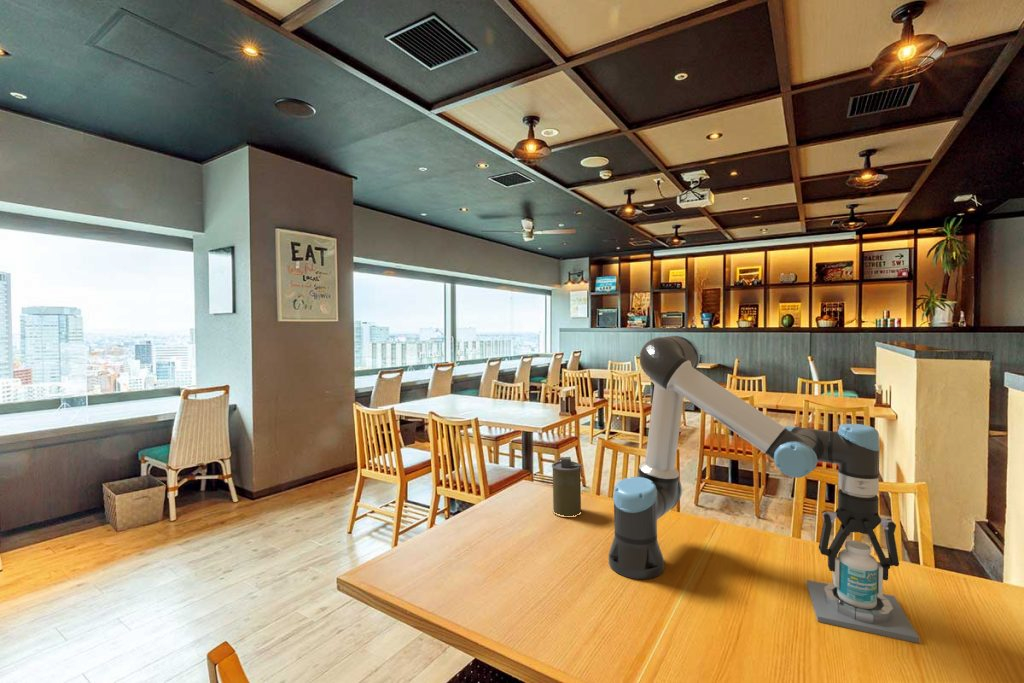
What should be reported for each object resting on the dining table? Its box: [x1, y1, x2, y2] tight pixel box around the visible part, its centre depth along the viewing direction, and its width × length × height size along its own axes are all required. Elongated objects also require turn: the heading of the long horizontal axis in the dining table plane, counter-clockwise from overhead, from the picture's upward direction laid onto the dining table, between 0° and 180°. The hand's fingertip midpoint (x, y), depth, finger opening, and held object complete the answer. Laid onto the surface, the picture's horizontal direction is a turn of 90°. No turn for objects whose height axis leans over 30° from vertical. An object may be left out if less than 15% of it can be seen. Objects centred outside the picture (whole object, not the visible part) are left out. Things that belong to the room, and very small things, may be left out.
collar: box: [824, 582, 893, 624], centre depth 107 cm, size 12×12×3 cm
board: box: [806, 579, 920, 644], centre depth 108 cm, size 18×16×1 cm
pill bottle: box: [837, 539, 878, 609], centre depth 107 cm, size 8×7×14 cm
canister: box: [551, 456, 584, 516], centre depth 166 cm, size 11×10×20 cm
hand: (856, 588), depth 107 cm, fingers closed on pill bottle, 7 cm apart
